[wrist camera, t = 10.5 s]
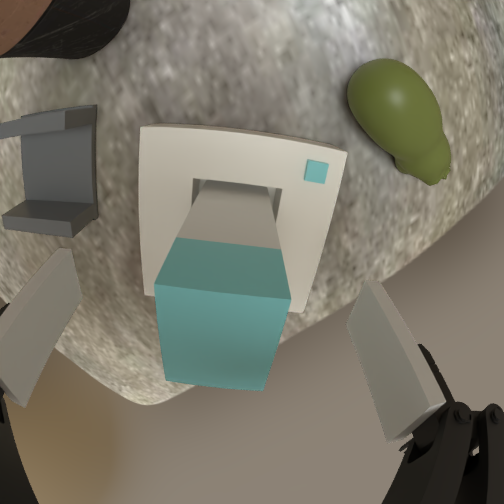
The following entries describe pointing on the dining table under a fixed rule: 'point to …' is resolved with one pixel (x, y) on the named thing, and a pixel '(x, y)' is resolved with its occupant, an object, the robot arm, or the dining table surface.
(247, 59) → the dining table surface
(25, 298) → the robot arm
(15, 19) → the travel mug
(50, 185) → the holster
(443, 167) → the pear
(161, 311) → the plug
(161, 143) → the port block
